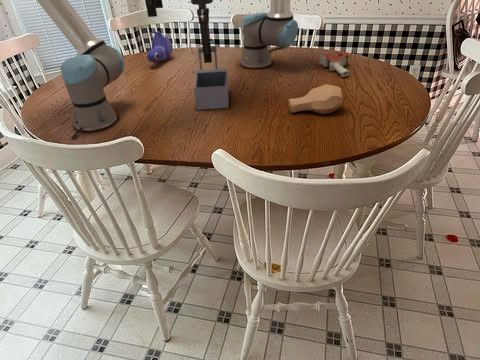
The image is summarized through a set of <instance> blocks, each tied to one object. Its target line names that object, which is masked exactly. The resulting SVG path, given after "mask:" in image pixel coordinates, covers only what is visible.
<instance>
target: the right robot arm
mask: <svg viewBox="0 0 480 360" xmlns="http://www.w3.org/2000/svg"><path fill="white" fill-rule="evenodd" d="M269 1H270V3H269V4H270V9H269V12H268V13H267V12H255V13H250V14H247V15H244V16H243V18H242V37H243V50H242V54H241V59H240V66H241V67H243V68H244V69H249V70H259V69H264V68H268V67H269V66H271V65H272V57H271V54H270V52H271V51H276V50H281V49H283V48H289V47H291V46H292V45H293V44H294V43H295V40H297V39H296V38H297V36H298V32H299V24H298V21H297V20H295V19H294V13H293V12H292V11H291V0H269ZM213 2H214V0H190V3H191V4H192V5H195V6H196V5H198V8H197V9H196V14H197V19H198V24H199V30H200V38H201V42H200V46H201V47H203V53H202V54H203V55H202V56H203V62H204V64H211V63H213V55H212V52H211V49H210V46H212V45H211V42H213V39H212V38H211V34H210V25H209V23H210V8H209V7H207V5H209V4H212V3H213ZM268 46H273V47H274V48H271V49H269V47H268Z"/></svg>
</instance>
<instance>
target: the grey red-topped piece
mask: <svg viewBox="0 0 480 360" xmlns="http://www.w3.org/2000/svg"><path fill="white" fill-rule="evenodd" d="M336 55H337V56H336ZM334 56H336V57H334ZM348 60H349V54H348V53H347V52H346V51H338V52H333V53H326V54H319V61H318V63H319V65H322V66H323V67H325V68H328V67H329V72H335V71H336V72H337V73H338V74H339V75H341V78H344V77H347V76H349V75H350V70H349V69H346V68H345V67H344V66H347V64H348Z"/></svg>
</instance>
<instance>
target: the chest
mask: <svg viewBox="0 0 480 360" xmlns="http://www.w3.org/2000/svg"><path fill="white" fill-rule="evenodd" d="M214 85H219V86H214ZM205 86H214V87H205ZM193 93H194V94H193V95H194V101H195V108H196V110H197V111H199V110H213V109H215V110H216V109H229V106H230V105H229V104H230V103H229V82H228V70H227V71H222V72H206V73H195V80H194V86H193Z"/></svg>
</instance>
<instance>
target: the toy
mask: <svg viewBox="0 0 480 360" xmlns="http://www.w3.org/2000/svg"><path fill="white" fill-rule="evenodd" d="M150 34H154V35H153V37H152V41H151V49H149V50H148V49H147V52H146V56H145V57H146V59H147V60H148V61H149V62H150V63H151V64H152V65H153V66H154V67H155V68H157V67H156V66H157V63H159V62H164V61H166V60H167V59H169V58H170V57H171V56H172V55H173V49H174V48H173V44H172V41H171V39H170V37H169V36H168V35H167V34H165V35H164V34H163V33H162V32H161V31H159V30H157V31H156V30H152V31H151V32H150Z"/></svg>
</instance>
